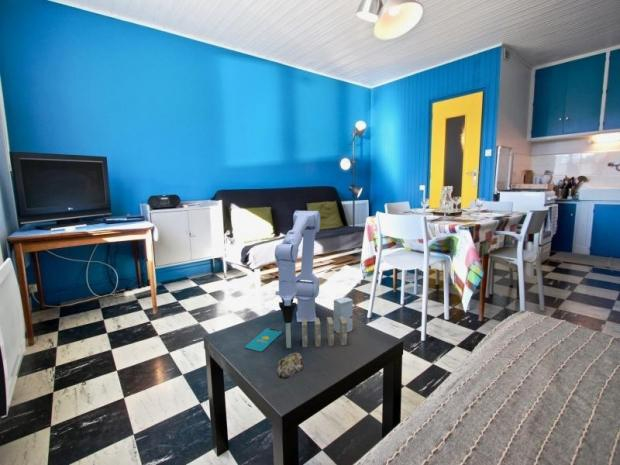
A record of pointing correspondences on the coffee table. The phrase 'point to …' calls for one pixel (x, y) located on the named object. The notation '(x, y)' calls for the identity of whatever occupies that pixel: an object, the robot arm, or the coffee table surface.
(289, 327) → the domino
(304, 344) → the domino
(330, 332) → the domino
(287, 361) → the mineral rock
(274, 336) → the smartphone
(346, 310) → the skincare box
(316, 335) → the domino
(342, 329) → the domino
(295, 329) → the coffee table surface
